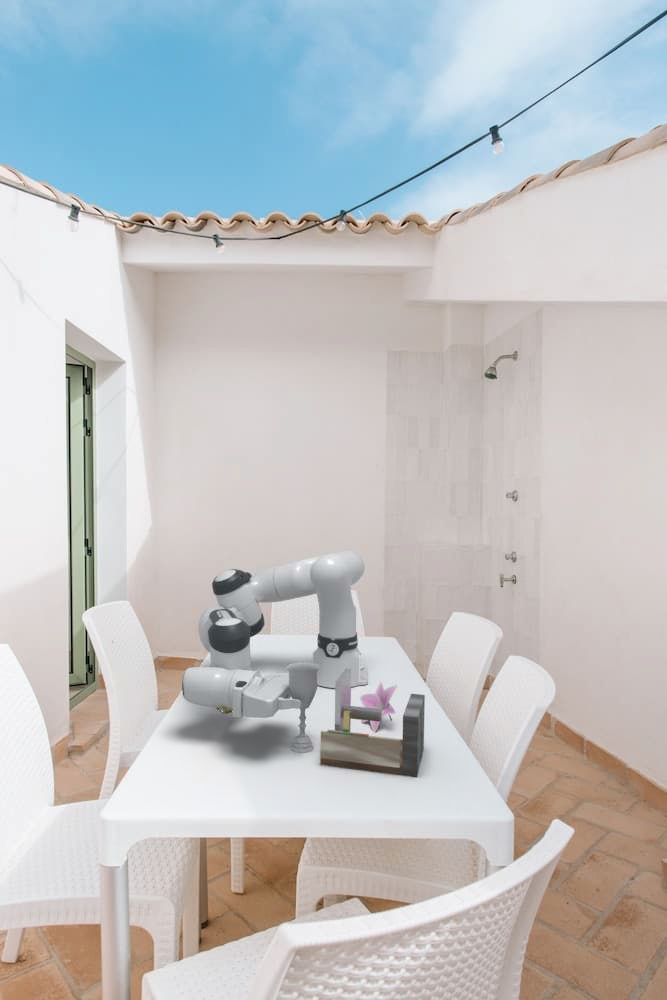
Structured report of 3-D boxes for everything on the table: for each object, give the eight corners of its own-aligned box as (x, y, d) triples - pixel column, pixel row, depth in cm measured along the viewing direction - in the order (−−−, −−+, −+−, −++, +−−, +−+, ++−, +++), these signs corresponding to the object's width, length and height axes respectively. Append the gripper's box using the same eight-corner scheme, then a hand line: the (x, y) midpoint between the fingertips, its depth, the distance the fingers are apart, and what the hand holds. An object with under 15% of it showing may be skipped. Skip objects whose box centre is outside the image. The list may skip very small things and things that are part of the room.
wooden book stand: (336, 738, 138) (337, 686, 138) (423, 748, 133) (424, 694, 133) (320, 765, 124) (321, 707, 124) (416, 777, 120) (417, 717, 119)
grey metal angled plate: (345, 734, 136) (346, 668, 136) (384, 738, 134) (385, 671, 133) (332, 754, 125) (334, 683, 125) (375, 760, 123) (376, 687, 123)
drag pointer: (344, 753, 126) (345, 710, 126) (350, 754, 125) (350, 711, 125) (342, 756, 124) (343, 712, 124) (348, 756, 124) (349, 713, 124)
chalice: (318, 741, 136) (319, 662, 136) (318, 754, 130) (319, 671, 129) (286, 741, 136) (287, 662, 136) (284, 754, 129) (285, 671, 129)
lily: (360, 716, 155) (348, 688, 152) (402, 699, 155) (391, 670, 152) (370, 749, 144) (357, 720, 140) (415, 730, 144) (403, 700, 141)
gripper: (264, 690, 146) (319, 695, 143) (230, 720, 126) (292, 727, 123) (265, 664, 146) (319, 669, 143) (230, 690, 126) (293, 697, 123)
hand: (307, 696), depth 133 cm, fingers open, 8 cm apart
